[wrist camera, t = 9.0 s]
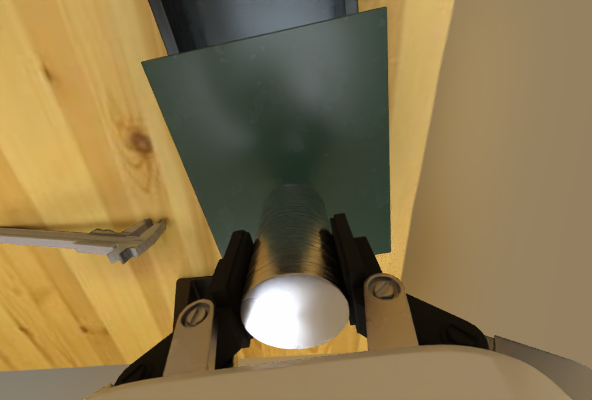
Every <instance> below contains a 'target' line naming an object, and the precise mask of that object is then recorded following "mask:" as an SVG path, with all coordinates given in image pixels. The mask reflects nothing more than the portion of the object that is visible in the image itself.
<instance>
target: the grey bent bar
mask: <svg viewBox="0 0 592 400" xmlns="http://www.w3.org/2000/svg"><path fill="white" fill-rule="evenodd" d="M165 229H166V226H165V223H164V221H163V220H159V221H158V222H157V223H156V224H154V225H152V222H151V219H147V220H144V221H142V222H140V223H138V224H136V225H134V226H132V227H130V228H128V229H127V230H125V231H123V232H121V233H115V232H114V231H112V230H101V229H95V230H94V231H92V232H90V233H81V232H65V231H48V230H34V229H19V228H5V227H0V243H6V244H18V245H31V246H44V247H57V248H70V249H76V251H77V252H82V253H92V254H103V255H107V256H108V258H109V260H110V262H111V263H114V262H116V261H118V260H120V261H121V263H122V264H124V263H126V262H127V261H128V260H129V259H130V258H132V257H133V256H135V257H139V256H140V255H141V254H142V253H143V252H145V251H146V250H147V249H148V248H150V247H151V246H152V245H153V244H154V243H155V242H156V241H157V240H158V238H159V237H160V236H161V235H162V233H163V232H164V231H165Z"/></svg>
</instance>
